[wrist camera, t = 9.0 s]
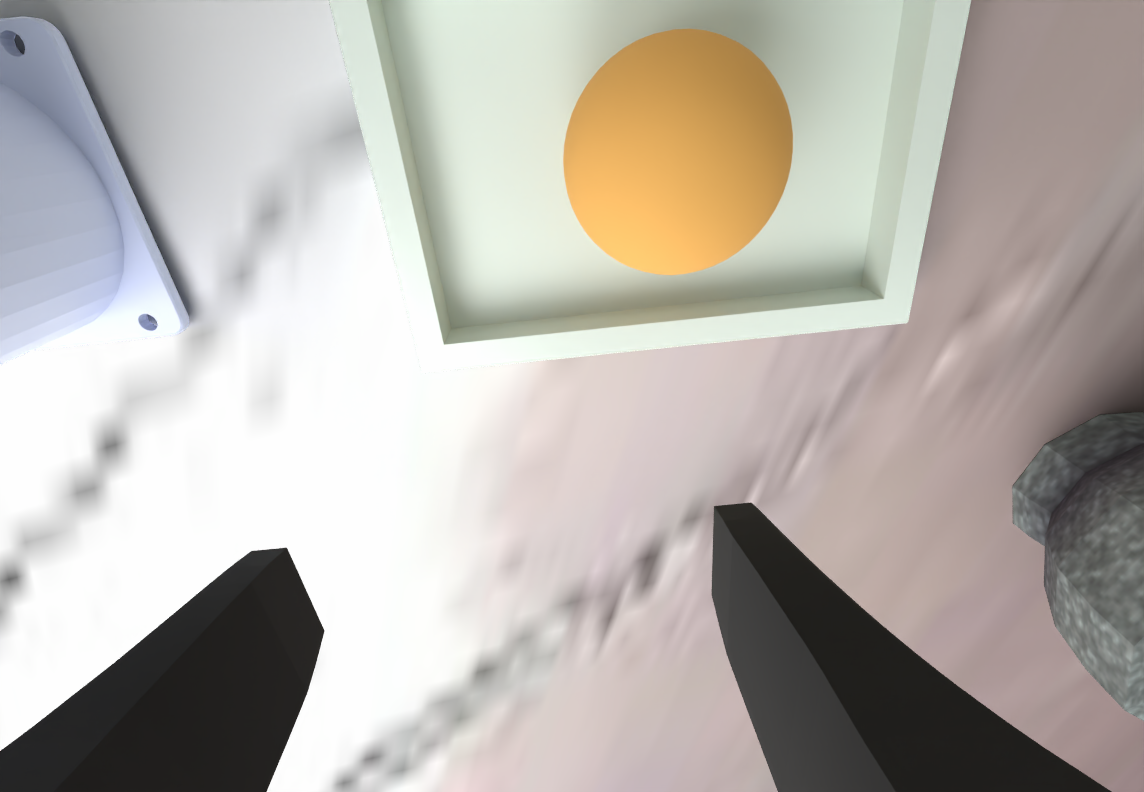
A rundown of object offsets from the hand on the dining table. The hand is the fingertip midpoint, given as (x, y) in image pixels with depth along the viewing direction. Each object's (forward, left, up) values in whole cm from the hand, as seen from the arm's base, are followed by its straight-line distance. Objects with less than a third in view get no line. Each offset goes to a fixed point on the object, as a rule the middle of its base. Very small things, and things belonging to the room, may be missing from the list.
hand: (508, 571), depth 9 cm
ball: (+4, +6, -6) cm, 9 cm away
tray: (+4, +6, -9) cm, 12 cm away
